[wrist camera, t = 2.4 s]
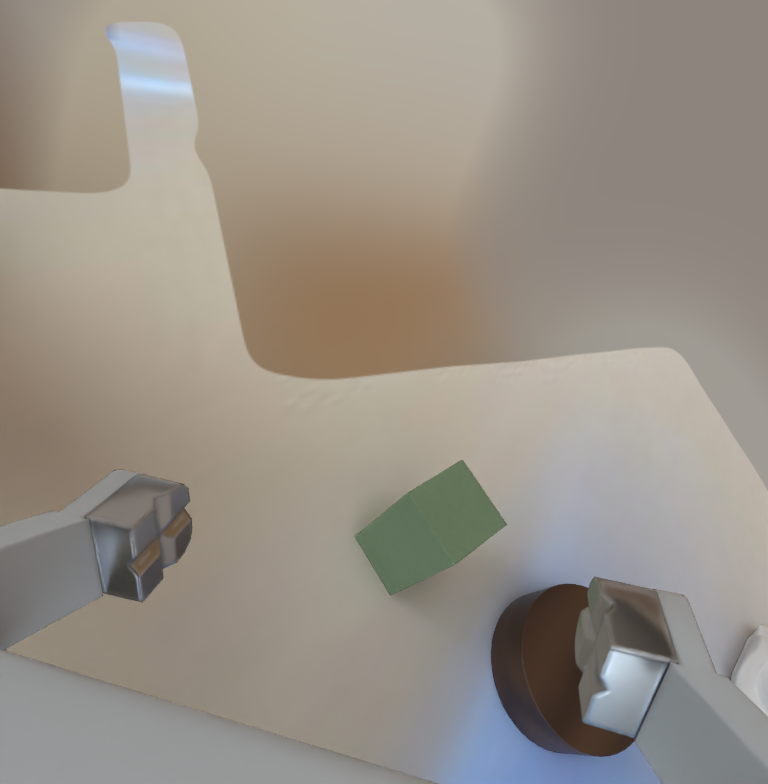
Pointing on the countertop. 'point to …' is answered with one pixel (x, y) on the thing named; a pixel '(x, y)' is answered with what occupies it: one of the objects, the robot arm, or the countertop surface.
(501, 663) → the cylinder
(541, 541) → the countertop surface
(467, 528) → the block
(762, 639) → the white flat lumpy piece
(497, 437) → the countertop surface
